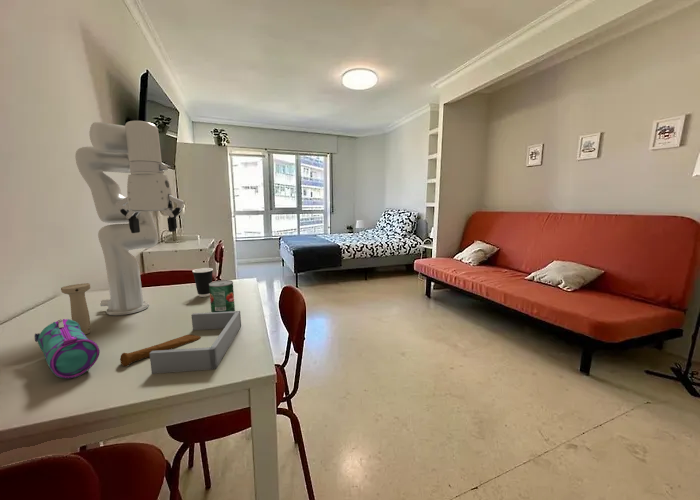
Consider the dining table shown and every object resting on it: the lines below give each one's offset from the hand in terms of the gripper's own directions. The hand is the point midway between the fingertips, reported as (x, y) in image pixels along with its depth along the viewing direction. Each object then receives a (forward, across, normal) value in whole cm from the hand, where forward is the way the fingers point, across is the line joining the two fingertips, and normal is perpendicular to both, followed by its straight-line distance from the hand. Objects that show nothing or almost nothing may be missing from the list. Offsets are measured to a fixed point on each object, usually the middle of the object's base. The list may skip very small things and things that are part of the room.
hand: (154, 232), depth 86 cm
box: (+31, -13, +9) cm, 35 cm away
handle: (+30, +26, -5) cm, 40 cm away
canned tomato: (+31, -12, -17) cm, 37 cm away
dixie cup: (+30, +2, -41) cm, 51 cm away
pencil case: (+31, +17, +13) cm, 38 cm away
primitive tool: (+32, -3, +9) cm, 33 cm away
